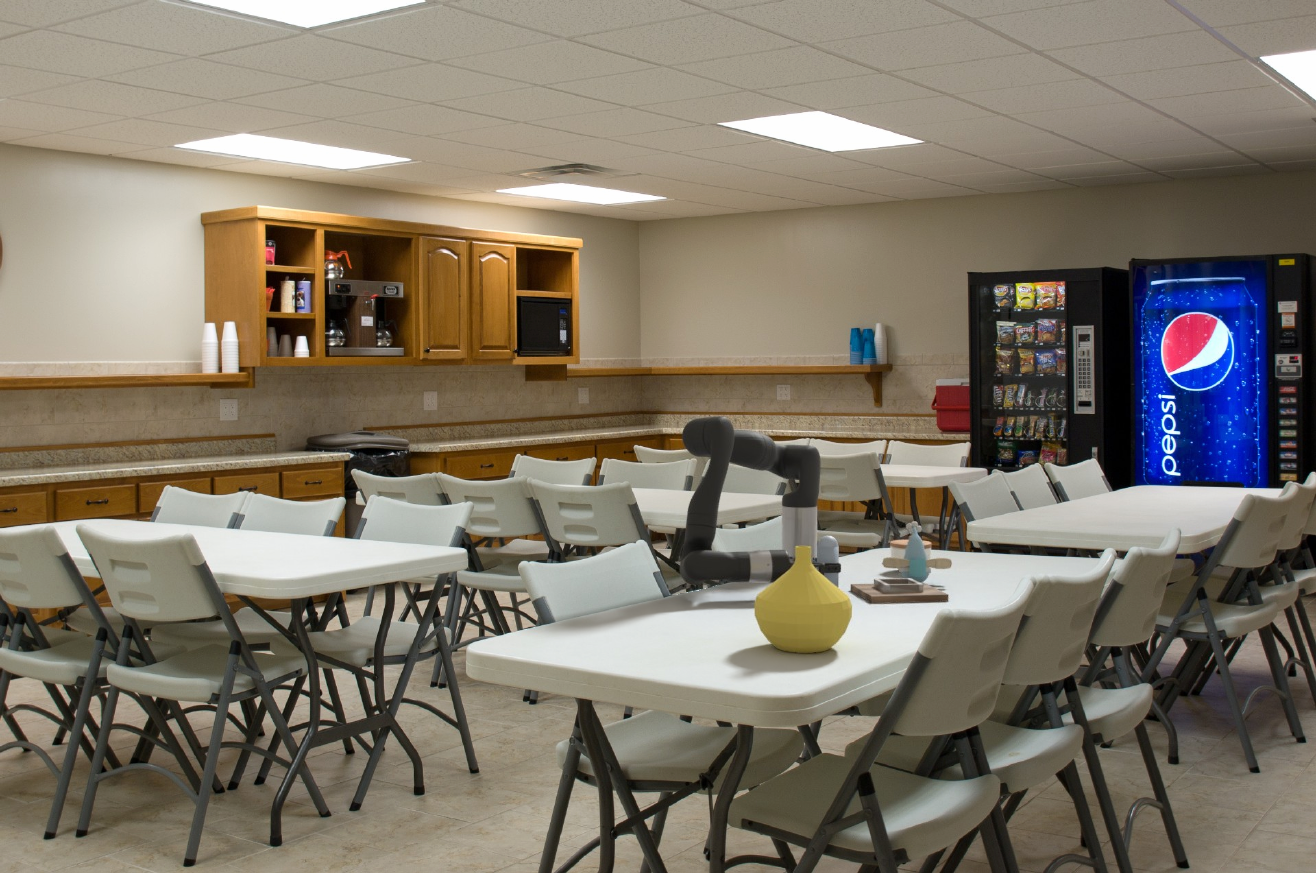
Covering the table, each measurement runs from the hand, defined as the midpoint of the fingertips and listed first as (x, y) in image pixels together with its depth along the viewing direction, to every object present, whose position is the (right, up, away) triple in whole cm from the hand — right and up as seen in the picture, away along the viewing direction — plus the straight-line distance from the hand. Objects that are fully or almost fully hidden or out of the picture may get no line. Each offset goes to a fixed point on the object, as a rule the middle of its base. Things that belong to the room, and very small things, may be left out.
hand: (835, 565), depth 289 cm
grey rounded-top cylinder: (-2, -8, 0) cm, 8 cm away
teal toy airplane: (+23, -7, +20) cm, 31 cm away
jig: (+15, -7, +2) cm, 17 cm away
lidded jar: (+25, -6, +39) cm, 47 cm away
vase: (-14, -10, -54) cm, 57 cm away
